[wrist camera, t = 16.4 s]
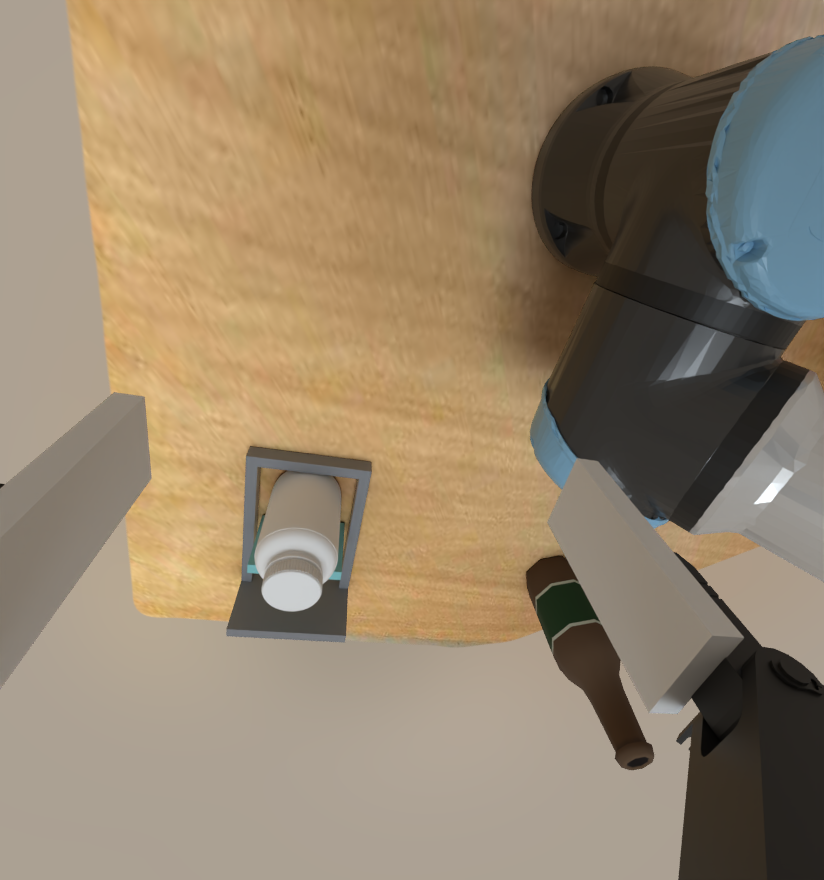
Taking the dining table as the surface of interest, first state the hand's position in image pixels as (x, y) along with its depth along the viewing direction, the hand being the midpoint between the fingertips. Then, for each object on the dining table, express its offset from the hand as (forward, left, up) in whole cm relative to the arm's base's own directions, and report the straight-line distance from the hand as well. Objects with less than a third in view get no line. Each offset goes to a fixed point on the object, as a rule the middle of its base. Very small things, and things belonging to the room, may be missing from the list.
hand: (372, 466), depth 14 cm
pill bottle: (+3, +25, -32) cm, 41 cm away
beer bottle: (-32, +35, -32) cm, 57 cm away
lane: (+3, +30, -32) cm, 44 cm away
